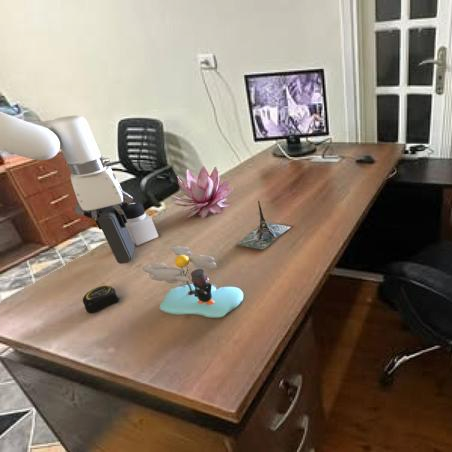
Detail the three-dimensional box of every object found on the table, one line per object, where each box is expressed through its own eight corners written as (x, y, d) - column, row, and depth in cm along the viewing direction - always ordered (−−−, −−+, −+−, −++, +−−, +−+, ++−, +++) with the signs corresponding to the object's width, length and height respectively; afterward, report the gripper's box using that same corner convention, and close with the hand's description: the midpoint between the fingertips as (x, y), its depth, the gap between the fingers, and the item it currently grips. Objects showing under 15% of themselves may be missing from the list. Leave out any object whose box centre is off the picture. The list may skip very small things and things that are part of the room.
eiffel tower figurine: (265, 222, 117) (258, 185, 111) (291, 227, 113) (284, 189, 107) (237, 245, 106) (226, 206, 99) (264, 251, 102) (255, 210, 95)
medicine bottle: (159, 236, 115) (146, 204, 109) (137, 246, 111) (122, 212, 105) (150, 230, 120) (138, 198, 114) (129, 239, 115) (115, 206, 109)
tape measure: (90, 319, 82) (83, 307, 80) (86, 304, 87) (79, 292, 85) (121, 305, 86) (115, 293, 84) (116, 291, 91) (110, 280, 89)
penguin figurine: (250, 293, 85) (237, 241, 78) (228, 325, 76) (210, 270, 69) (181, 285, 91) (162, 235, 83) (153, 314, 82) (129, 261, 74)
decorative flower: (185, 232, 116) (171, 190, 109) (173, 210, 133) (160, 173, 125) (246, 212, 126) (237, 172, 118) (227, 194, 142) (218, 158, 135)
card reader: (122, 249, 107) (102, 205, 99) (136, 246, 108) (117, 202, 100) (116, 265, 99) (94, 219, 92) (132, 262, 100) (111, 216, 93)
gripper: (124, 156, 96) (147, 215, 105) (52, 169, 90) (82, 230, 99) (123, 163, 90) (147, 225, 99) (45, 178, 84) (78, 242, 93)
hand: (114, 227), depth 99 cm, fingers closed on card reader, 4 cm apart
